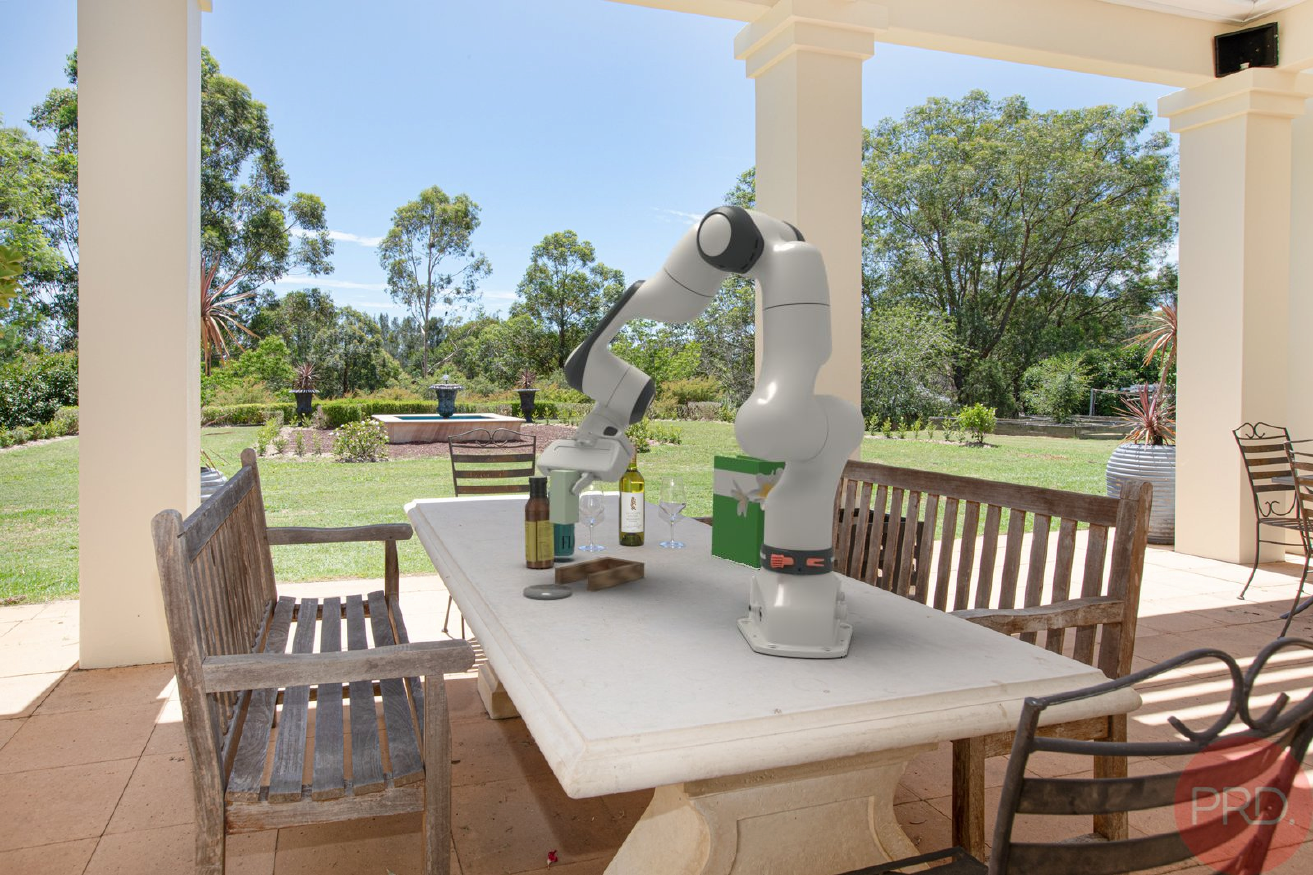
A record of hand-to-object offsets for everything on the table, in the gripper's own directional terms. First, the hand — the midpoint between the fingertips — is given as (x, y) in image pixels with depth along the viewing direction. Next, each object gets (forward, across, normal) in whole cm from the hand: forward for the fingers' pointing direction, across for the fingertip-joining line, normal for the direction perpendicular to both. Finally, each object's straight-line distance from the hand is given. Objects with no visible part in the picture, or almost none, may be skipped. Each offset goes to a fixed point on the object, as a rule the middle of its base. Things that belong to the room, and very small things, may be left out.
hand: (562, 492), depth 163 cm
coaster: (+16, 0, +11) cm, 19 cm away
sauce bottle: (+4, -19, +23) cm, 30 cm away
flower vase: (-1, +36, +29) cm, 46 cm away
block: (+4, 0, +5) cm, 6 cm away
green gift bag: (-22, +12, +49) cm, 55 cm away
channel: (+6, 0, +22) cm, 22 cm away
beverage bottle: (-2, -20, +29) cm, 35 cm away
